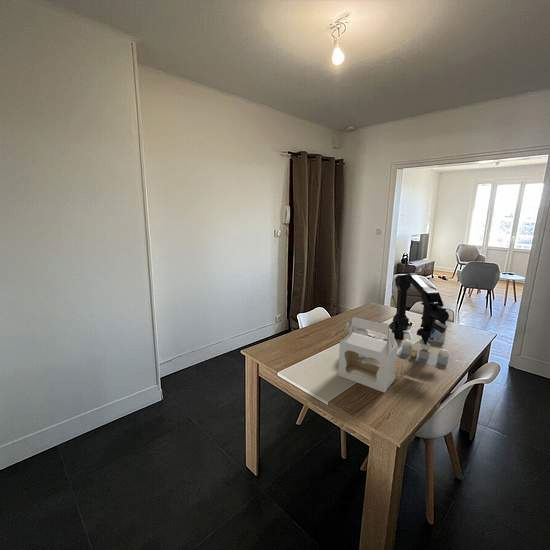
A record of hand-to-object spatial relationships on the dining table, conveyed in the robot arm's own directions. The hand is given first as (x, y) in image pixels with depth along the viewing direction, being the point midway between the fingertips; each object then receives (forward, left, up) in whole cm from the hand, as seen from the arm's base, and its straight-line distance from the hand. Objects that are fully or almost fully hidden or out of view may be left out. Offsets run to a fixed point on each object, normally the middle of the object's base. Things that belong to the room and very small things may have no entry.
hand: (425, 344), depth 152 cm
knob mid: (0, 0, -6) cm, 6 cm away
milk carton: (-28, -16, -9) cm, 34 cm away
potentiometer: (-4, -4, -8) cm, 10 cm away
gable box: (-17, -36, -9) cm, 41 cm away
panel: (0, 0, -8) cm, 9 cm away
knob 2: (+9, 0, -7) cm, 11 cm away
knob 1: (-8, 0, -7) cm, 11 cm away
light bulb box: (0, +32, -9) cm, 33 cm away
